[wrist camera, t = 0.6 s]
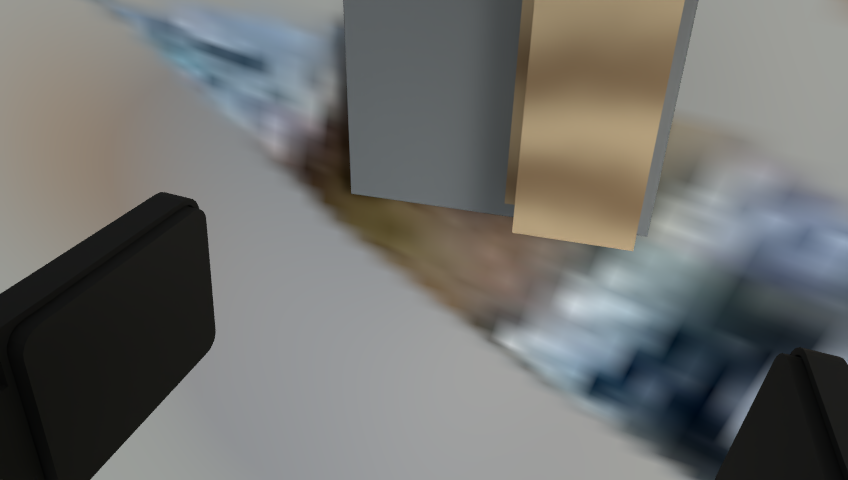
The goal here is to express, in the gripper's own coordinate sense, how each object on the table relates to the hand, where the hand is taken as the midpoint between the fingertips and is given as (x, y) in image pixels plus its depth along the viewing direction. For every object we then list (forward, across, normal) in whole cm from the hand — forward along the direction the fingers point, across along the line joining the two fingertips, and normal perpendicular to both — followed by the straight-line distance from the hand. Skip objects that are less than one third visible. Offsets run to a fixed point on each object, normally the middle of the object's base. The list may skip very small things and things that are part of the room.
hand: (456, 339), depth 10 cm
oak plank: (+30, -1, +2) cm, 30 cm away
